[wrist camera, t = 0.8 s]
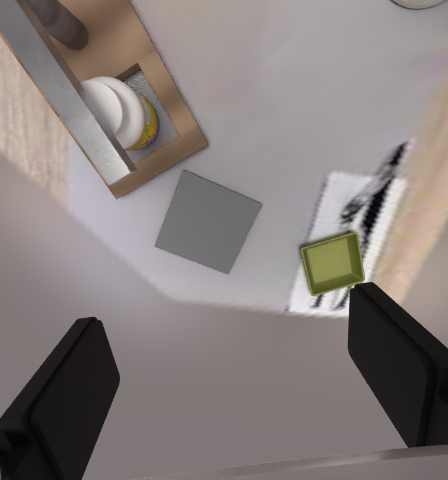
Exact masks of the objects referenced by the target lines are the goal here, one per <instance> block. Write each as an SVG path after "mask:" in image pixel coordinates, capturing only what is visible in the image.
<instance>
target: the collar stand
mask: <svg viewBox="0 0 448 480" xmlns="http://www.w3.org/2000/svg"><path fill="white" fill-rule="evenodd" d="M26 2H27V3H28V5H29V6H30V8H31V9H32V11H33V12H34V14H35V15H36V17H37V18H38V20H39V21H40V23H41V24H42V26H43V28H44V29H45V31H46V32H47V34H48V35H49V37H50V38H51V40H52V41H53V43H54V44H55V46H56V47H57V49H58V50H59V52H60V53H61V55H62V56H63V58H64V59H65V61H66V62H67V64H68V65H69V67H70V69H71V70H72V72H73V73H74V75H75V76H76V78H77V79H78V81H79V82H82V81H86V80H90V79H92V78H95V77H102V76H104V77H112V78H115V79H118V80H120V81H122V82H123V81H125V80H126V79H127V78H129V77H130V76H132V75H133V74H135V73H136V72H138V71H139V70H141V69H142V71H143V73H144V74H145V76H146V78H147V80H148V81H149V83H150V85H151V86H152V88H153V90H154V92H155V93H156V95H157V97H158V99H159V100H160V102H161V104H162V105H163V107H164V109H165V111H166V112H167V114H168V116H169V118H170V119H171V121H172V123H173V124H174V126H175V128H176V130H177V131H178V133H179V135H180V137H178V138H176V139H175V140H173V141H171V142H170V143H168V144H167V145H165V146H163V147H162V148H160V149H159V150H157V151H155V152H154V153H152V154H150V155H149V156H147V157H146V158H144V159H142V160H141V161H139V162H138V163H136V164H134V166H135V167H136V169H137V171H135V172H133V173H132V174H130V175H129V176H127V177H125V178H124V179H122V180H120V181H119V182H117V183H114V184H112V185H108V183H107V182H106V180H105V179H104V177H103V176H102V175H101V173H100V172H99V170H98V169H97V168H96V166H95V165H94V163H93V162H92V160H91V159H90V158H89V156H88V155H87V153H86V152H85V151H84V149H83V148H82V146H81V145H80V144H79V142H78V141H77V139H76V138H75V136H74V135H73V134H72V132H71V131H70V129H69V128H68V127H67V125H66V124H65V122H64V121H63V119H62V118H61V117H60V115H59V114H58V112H57V111H56V110H55V108H54V107H53V105H52V104H51V103H50V101H49V100H48V98H47V97H46V95H45V94H44V93H43V91H42V90H41V88H40V87H39V86H38V84H37V83H36V81H35V80H34V78H33V77H32V76H31V74H30V73H29V71H28V70H27V69H26V67H25V66H24V64H23V63H22V62H21V60H20V59H19V57H18V56H17V54H16V53H15V52H14V50H13V49H12V47H11V46H10V45H9V43H8V42H7V40H6V39H5V37H4V36H3V35H2V33H1V32H0V36H1V38H2V39H3V40H4V42H5V43H6V45H7V46H8V47H9V49H10V50H11V52H12V53H13V54H14V56H15V57H16V59H17V60H18V61H19V63H20V64H21V66H22V67H23V68H24V70H25V71H26V73H27V74H28V76H29V77H30V78H31V80H32V81H33V83H34V84H35V85H36V87H37V88H38V90H39V91H40V92H41V94H42V95H43V97H44V98H45V99H46V101H47V102H48V104H49V105H50V106H51V108H52V109H53V111H54V112H55V114H56V115H57V116H58V118H59V119H60V121H61V122H62V123H63V125H64V126H65V128H66V129H67V130H68V132H69V133H70V135H71V136H72V137H73V139H74V140H75V142H76V143H77V144H78V146H79V147H80V149H81V150H82V152H83V153H84V154H85V156H86V157H87V159H88V160H89V161H90V163H91V164H92V166H93V167H94V168H95V170H96V171H97V173H98V174H99V175H100V177H101V178H102V180H103V181H104V182H105V184H106V185H107V187H108V188H109V190H110V191H111V192H112V194H113V195H114V197H115V198H116V199H118V198H120V197H122V196H123V195H125V194H127V193H128V192H130V191H132V190H133V189H135V188H137V187H138V186H140V185H142V184H143V183H145V182H147V181H148V180H150V179H152V178H153V177H155V176H157V175H158V174H160V173H161V172H163V171H165V170H166V169H168V168H170V167H171V166H173V165H175V164H176V163H178V162H180V161H181V160H183V159H185V158H186V157H188V156H190V155H191V154H193V153H195V152H196V151H198V150H200V149H201V148H203V147H204V146H206V145H208V143H207V141H206V139H205V137H204V136H203V134H202V132H201V130H200V128H199V127H198V125H197V123H196V121H195V119H194V118H193V116H192V114H191V112H190V110H189V109H188V107H187V105H186V103H185V101H184V99H183V98H182V96H181V94H180V92H179V90H178V89H177V87H176V85H175V83H174V81H173V80H172V78H171V76H170V74H169V72H168V70H167V69H166V67H165V65H164V63H163V61H162V60H161V58H160V56H159V54H158V52H157V51H156V49H155V47H154V45H153V43H152V41H151V40H150V38H149V36H148V34H147V32H146V31H145V29H144V27H143V25H142V23H141V22H140V20H139V18H138V16H137V14H136V12H135V11H134V9H133V7H132V5H131V3H130V2H129V0H26Z"/></svg>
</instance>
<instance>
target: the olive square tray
mask: <svg viewBox="0 0 448 480" xmlns="http://www.w3.org/2000/svg"><path fill="white" fill-rule="evenodd" d="M301 253H302V257H303V262H304V266H305V270H306V275H307V279H308V283H309V288H310V292H311V295H312V296H317V295H320V294H324V293H327V292H330V291H333V290H337V289H341V288H344V287H348V286H351V285H355V284H359V283H362V282H363V281H364V280H365V274H364V269H363V263H362V256H361V250H360V242H359V235H358V232H352V233H349V234H346V235H343V236H339V237H336V238H333V239H329V240H326V241H323V242H319V243H316V244H313V245H309V246H306V247H303V248H302V249H301Z"/></svg>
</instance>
